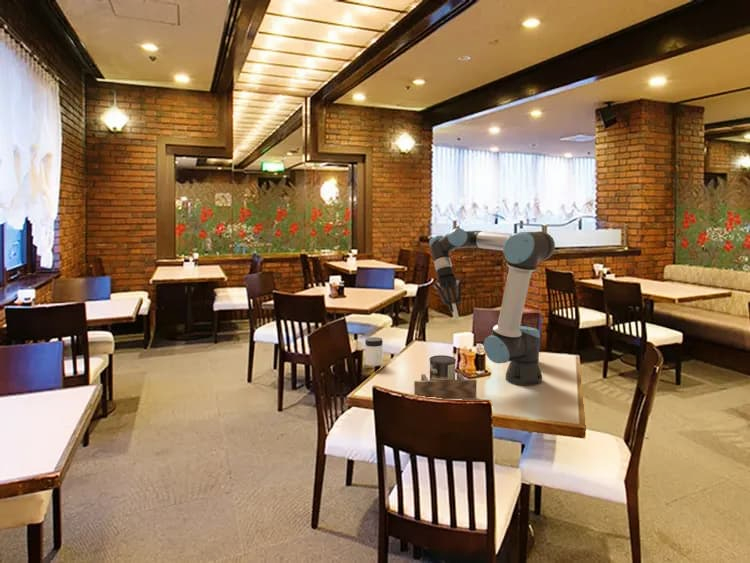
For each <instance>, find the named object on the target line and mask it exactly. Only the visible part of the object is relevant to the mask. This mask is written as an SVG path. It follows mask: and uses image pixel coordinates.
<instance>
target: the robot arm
mask: <svg viewBox="0 0 750 563" xmlns="http://www.w3.org/2000/svg"><path fill="white" fill-rule="evenodd" d="M428 243H429V248H430V252H431V256H432V259H433V264H434V268H435V272H436V277H437V283H436V284H434V286H433V288H434V289H435V291H437V293H438V295H439V297H440V300H441V301H442V304H443V305H444V306H445V305H447V307H448V309H449V312H450V313H452V316H453V320H458V319H459V318H460V317H459V313H458V312H459V311H460V308H459V303H460V302H461V301H462V284H463V281H462V280H458V279H457V277H456V276H455V273H454V272H455V271H454V269H453V263H452V260H451V257H450V253H451V252H453V251H454V250H456V249H465V248H469V249H470V248H473V249H474V248H475V249H477V248H478V249H485V250H494V251H495V250H496V251H502V252H503V255H504V258H505V260H506V266H507V267H508V273H507V277H506V278H507V279H506V283H505V287H504V292H503V297H502V302H501V307H500V312H499V316H498V320H497V324H495V325H493V327H492V329H491V331H492V332H491V335H489V336H487V337H486V338H485V339H484V341H483V349H484V353H485V354H486V357H487V358H488V359H489V360H490V361H491V362H493V363H495V364H506V363H508V362H509V363H508V367H507V368H506V369H507V370H506V371H505V380H506V381H507V382H508V383H511V384H515V385H519V386H536V385H540V384H541V383H543V374H542V371H541V367H540V363H539V362H540V361H539V359H540V341H541V338H540V336H541V335H540V330H539V331H538V330H537V329H535V328H531V327H525V326H520V322H521V318H522V313H523V309H524V308H525V304H526V300H527V295H528V290H529V286H530V280H531V278H532V277H531V276H532V273H533V272H535V271H537V269H538V268H537V267H538V264H539V262H542V261H545V260H548V259H549V258H550V257H551V256H552V255H553V254H554V252H555V249H556V243H555V240H554V238H553V237H552V236H551V234H550V233H548V232H545V231H519V232H515V233H508V232H507V233H506V232H495V231H494V232H492V231H482V230H464V229H463V228H460V227H456V228H454V229H452V230H450V231H449V232H448V233H447V234H445V235H441V234H440V235H435V236H433V237H432V238H430V240H429V242H428ZM455 285H456V290H455ZM442 288H443V290H442Z"/></svg>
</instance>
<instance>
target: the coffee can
mask: <svg viewBox="0 0 750 563" xmlns="http://www.w3.org/2000/svg"><path fill="white" fill-rule="evenodd" d="M456 362H457V359H456V357H453V356H450V355H446V354H445V355H440V354H438V355H432V356H430V357H429V380H456Z"/></svg>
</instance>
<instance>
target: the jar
mask: <svg viewBox="0 0 750 563" xmlns="http://www.w3.org/2000/svg"><path fill="white" fill-rule="evenodd" d="M364 341H365V348H364V349H365V351H364V352H365V365H366V366H369V367H379V366H383V363H384V362H383V358H384V357H383V347H384V346H383V342H384V341H383V338H381V337H377V336H375V337H374V336H371V337H367V338H366V337H365V340H364Z"/></svg>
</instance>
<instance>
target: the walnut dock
mask: <svg viewBox="0 0 750 563" xmlns="http://www.w3.org/2000/svg"><path fill="white" fill-rule="evenodd" d="M420 375H421V377H420V378H421V379H420V380H414V381H413V382H414V385H413V387H414V389H413V391H414V394H413V396H414V395H417V396H425V397H436V398H454V399H476V398H477V382H478V381H477V378H474V379H473V378H471V379H470V378H469V379H468V378H467V379H466V378H465V377H464V376H463V374H462V373H461V372H457V373H456V379H455V380H430V379H429V378H428V377H427V375H426V373H425V374H424V373H422V374H420Z"/></svg>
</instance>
